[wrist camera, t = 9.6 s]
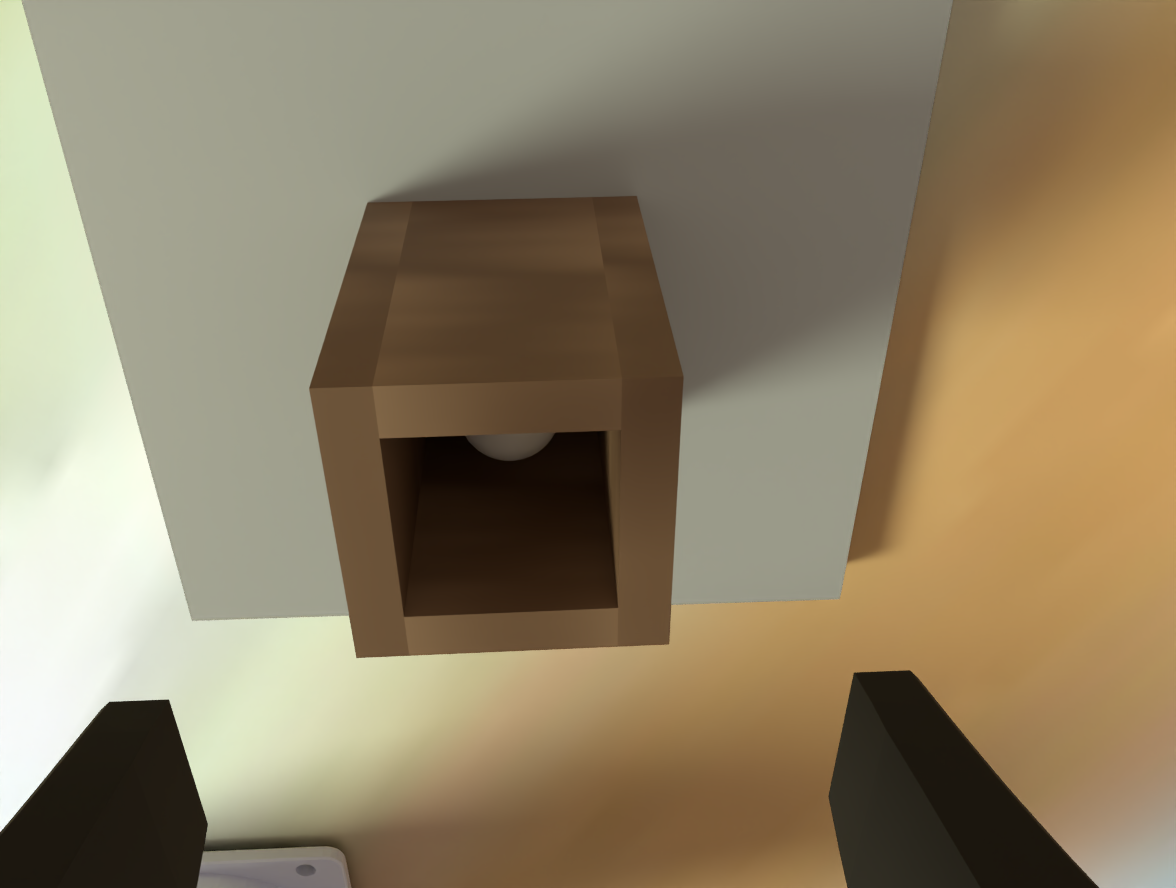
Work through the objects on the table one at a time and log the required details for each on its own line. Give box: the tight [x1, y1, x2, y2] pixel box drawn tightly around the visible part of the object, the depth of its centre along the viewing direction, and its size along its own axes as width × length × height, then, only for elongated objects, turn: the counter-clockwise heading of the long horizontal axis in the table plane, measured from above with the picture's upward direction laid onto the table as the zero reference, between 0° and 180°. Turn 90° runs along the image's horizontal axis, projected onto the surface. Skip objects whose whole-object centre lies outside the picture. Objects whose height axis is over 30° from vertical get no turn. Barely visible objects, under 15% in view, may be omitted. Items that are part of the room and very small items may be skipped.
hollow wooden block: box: [309, 196, 684, 658], centre depth 16 cm, size 4×4×6 cm
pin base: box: [22, 0, 953, 621], centre depth 18 cm, size 14×14×5 cm
